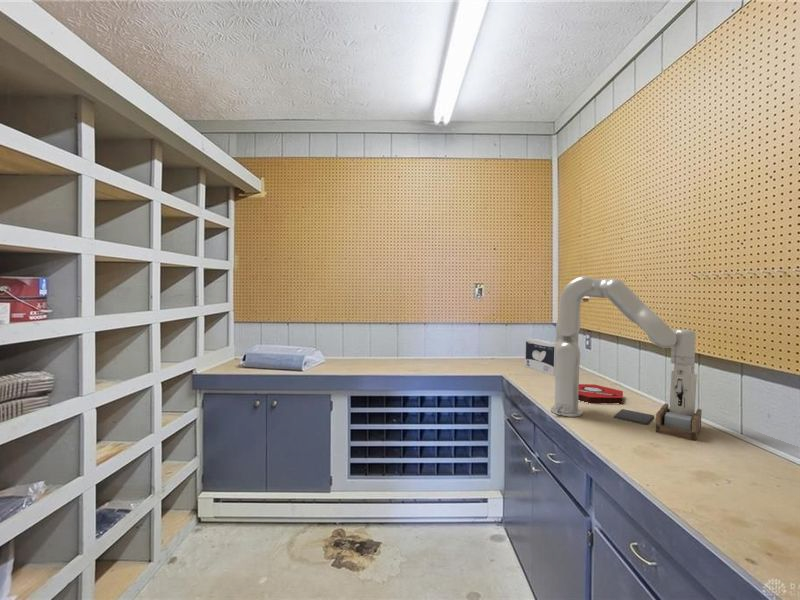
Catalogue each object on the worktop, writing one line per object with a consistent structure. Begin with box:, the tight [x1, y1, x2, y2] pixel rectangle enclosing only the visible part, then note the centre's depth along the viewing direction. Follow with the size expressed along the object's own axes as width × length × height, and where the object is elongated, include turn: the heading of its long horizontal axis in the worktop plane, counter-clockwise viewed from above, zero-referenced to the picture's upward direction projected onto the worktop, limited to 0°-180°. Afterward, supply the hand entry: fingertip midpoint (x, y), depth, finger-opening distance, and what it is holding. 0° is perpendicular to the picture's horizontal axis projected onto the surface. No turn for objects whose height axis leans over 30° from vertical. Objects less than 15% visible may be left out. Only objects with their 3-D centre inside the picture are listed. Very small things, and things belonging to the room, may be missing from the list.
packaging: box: [524, 337, 556, 377], centre depth 258 cm, size 30×6×20 cm, turn 18°
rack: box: [655, 402, 702, 442], centre depth 149 cm, size 20×12×7 cm, turn 137°
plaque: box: [578, 383, 624, 405], centre depth 195 cm, size 27×4×30 cm
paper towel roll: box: [668, 370, 698, 419], centre depth 153 cm, size 7×6×21 cm
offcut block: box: [664, 412, 692, 431], centre depth 147 cm, size 6×8×6 cm
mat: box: [613, 408, 655, 426], centre depth 163 cm, size 14×12×1 cm
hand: (680, 405), depth 153 cm, fingers closed on paper towel roll, 3 cm apart
